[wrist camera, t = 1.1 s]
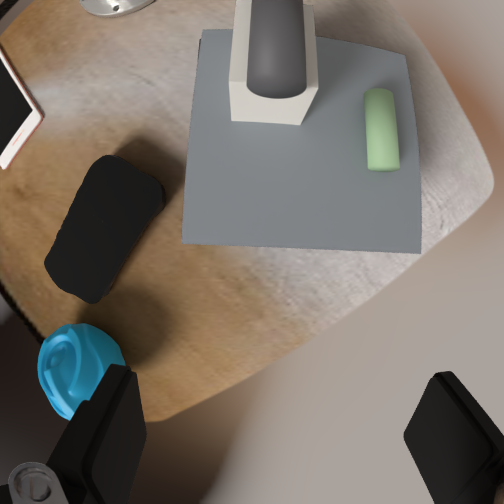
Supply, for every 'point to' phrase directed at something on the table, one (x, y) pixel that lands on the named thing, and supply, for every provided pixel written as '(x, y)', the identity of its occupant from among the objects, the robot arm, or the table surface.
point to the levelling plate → (300, 139)
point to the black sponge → (103, 227)
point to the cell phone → (14, 114)
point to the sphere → (75, 365)
